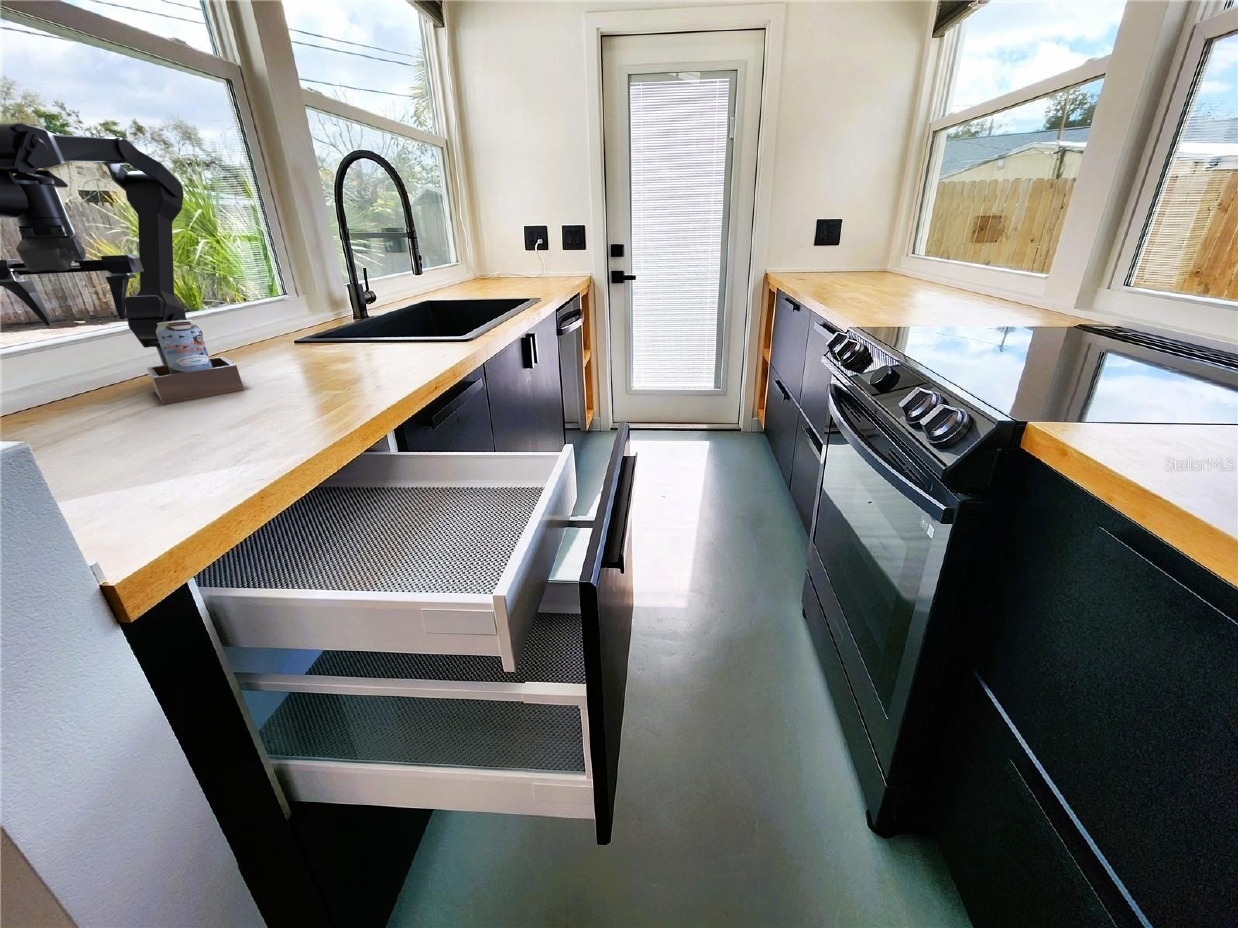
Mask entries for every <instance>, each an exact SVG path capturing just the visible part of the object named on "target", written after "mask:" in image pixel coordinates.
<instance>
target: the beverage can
mask: <svg viewBox="0 0 1238 928" xmlns="http://www.w3.org/2000/svg"><path fill="white" fill-rule="evenodd" d="M157 324H158V327H157V330H156V334H157V337H158V340H159V342H160V345H161V348H162V351H163V353H164V356H165V359H166V362H167V365H168V367H169V370H170V373H171V374H177V373H184V372H190V371H196V370H203V369H209V368H213V367H212V365H211V362H210V355H209V353H208V350H207V347H206V344H205V341H204V337H203V338H202V335H203V334H202V335H201V332H200V330H201V329H200V327H199V326H198V325H197V324H196V323H195V322H194V321H193V320H192V319H187V320H179V321H169V322H161V323H157Z"/></svg>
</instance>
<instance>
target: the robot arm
mask: <svg viewBox="0 0 1238 928" xmlns="http://www.w3.org/2000/svg"><path fill="white" fill-rule="evenodd" d="M68 162H69V163H102V164H103V165H104V166H106V168H107V171H108V172H109V175H110V177H111V180H112V181H113V182H114V183H115V184H116V185H118V187H120V188H121V189H122V191H124V192H125V197H126V201H127V202H128V203H129V205H130V207H131V208H132V210H134V212H135V213H136V215H137V225H138V229H137V231H138V256H137V255H135V254H111V255H109V254H108V255H100V259H86V255H87V253H86V250H85V249H84V247H83V245H82V242H81V241H80V240H79V238H78V237H77V235H76V231H75V229H74V226H73V225H72V224H71V221H70V219H69V216H68V213H67V211H66V209H65V207H64V204H63V202H62V198H61V197H60V194H59V192H58V189H62V188H68V187H69V185H68V183H67V182H66V181H64V180H63V179H62V178H60V177H58V176H56V175H55V174H54V173H52V171H50V170H49V169H48V168H51V167H52V168H53V167H56V166H60V165H62V164H64V163H68ZM121 164H123V165H124V164H128V165H130V166H131V167H132V168H133V169H135V170H136V171H134V170H133V171H129V172H128V171H127V170H126V169H125V168H123V166H122V165H121ZM40 169H41V170H40ZM183 203H184V188H183V185H182V183H181V182H180V180H179V179H178V178H177V177H176V176H175V175H174V174H173V173H172V172H171V171H170V170H169V169H168V168H167V167H165V165H164V164H162V163H161V162H160V161H159V160H156V159H154V158H153V157H151V156H149V155H147V154H146V153H144V152H142V151H140V150H139V149H138V148H137V147H135V146H134V145H133V144H132V143H131V142H130V141H129V140H127V139H125V138H123V137H120V136H114V137H113V136H111V137H98V136H97V137H95V136H83V135H82V136H81V135H67V134H66V135H63V134H55V133H52V132H50V131H48V130H47V129H45V128H42V127H38V126H35V125H31V124H27V123H23V122H18V123H17V122H15V123H14V122H13V123H0V219H16V220H17V223H18V226H17V227H18V229H19V233H20V236H21V240H20V241H19V242H18V245H17V246H16V248H15V250H16V252H17V254H18V256H19V257H20V259H21V261H22V262H21V261H20V260H19V259H18V258H13V259H12V258H11V259H0V287H3V288H5V289H7V290H8V291H10V292H11V293H13V294H14V295H15V296H16V297H17V298H18V299H20V300H21V301H22V302H23V303H24V304H25V305H26V306H27V307H28V308H29V309H30V310H31V311H32V312H33V314H35V315H36V316H37V318H38V319H40V320H41V321H42V322H43V324H44V325H45V326H47V327H50V326H52V325H53V324H52V320H51V317H50V314H49V312H48V310H47V308H46V306H45V304H44V302H43V300H42V298H41V296H40V294H39V292H38V290H37V288H36V286H35V284H34V282H33V280H32V279H25V278H24V277H25V276H29V275H31V276H33V275H50V274H51V275H52V274H69V273H70V274H71V273H87V272H88V273H89V272H107V273H108V274H109V275H108V276H105V279H106V282H107V284H108V287H109V288H110V289H109V290H110V292H111V296H112V299H113V304H114V307H115V311H116V314H117V315H118V318H119V320H121V321H123V320H125V319H126V320H127V324H128V325H127V326H128V329H129V330H130V331H131V332H132V333H133V335H134V336H135V337H136V338H137V340H138V341H139V343H140V344H141V345H142V347H143V348H145V349H147V348H156V351H157V353H158V355H159V358H160V361H161V364H162V365H167V362H166V359H165V356H164V353H163V351H162V348H161V345H160V342H159V340H158V337H157V334H156V330H157V327H158V324H157V323H161V322H169V321H179V320H188V318H187V315H186V310H185V308H184V306H183V305H182V304H181V303H180V301H179V300H178V298H177V297H176V295H175V278H174V277H175V275H174V241H173V240H174V239H173V238H174V237H173V236H174V235H173V222H174V221H175V219H176V218H177V217H178V215H179V214H180V213H181V212H182V209H183ZM73 262H74V264H75V265H74V264H72V263H73ZM135 273H137V274H138V273H139V291H138V292H137V294H136V295H134V296H133V295H132V296H127V293H128V288H129V287H128V286H129V283H130V279H135V278H137V275H136V274H135ZM200 332H201V335H202V338H203V339H204V336H203V331H202V330H201V329H200Z"/></svg>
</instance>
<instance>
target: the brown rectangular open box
mask: <svg viewBox="0 0 1238 928" xmlns="http://www.w3.org/2000/svg"><path fill="white" fill-rule="evenodd" d="M209 359H210V362H211V365H212V367H213V368H209V369H203V370H196V371H190V372H184V373H177V374H171V373H170V370H169V367H168V365H163V364H162V365H154V366H149V367H146V370H147V374H148V376H149V378H150V380H151V383H152V386H153V388H154V391H155V394H156V395H157V396H158V398H159V399H160V401H161V403H162V404H163V405H168V404H174V403H179V402H185V401H191V400H195V399H201V398H207V397H211V396H216V395H217V396H218V395H222V394H223V395H224V394H229V393H233V392H240V391H244V390H245V388H244V384H243V382H242V379H241V375H240V372H239V369H238V366H237V364H235V363H234V362H232V361H231V360H230V359H228V358H226V357H225V356H217V357H209Z"/></svg>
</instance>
